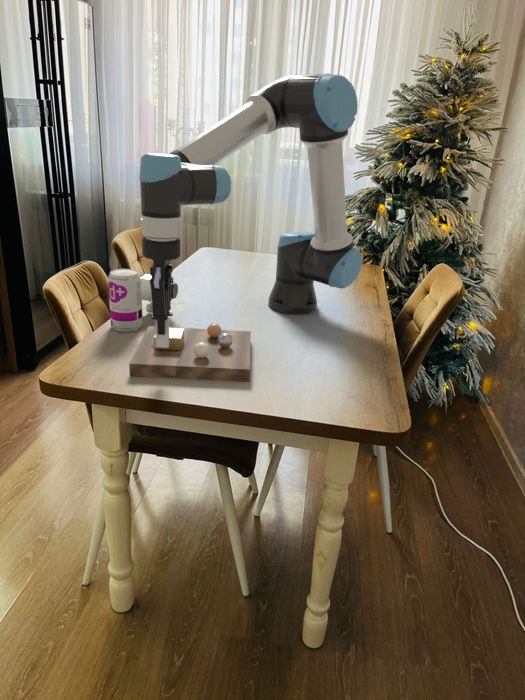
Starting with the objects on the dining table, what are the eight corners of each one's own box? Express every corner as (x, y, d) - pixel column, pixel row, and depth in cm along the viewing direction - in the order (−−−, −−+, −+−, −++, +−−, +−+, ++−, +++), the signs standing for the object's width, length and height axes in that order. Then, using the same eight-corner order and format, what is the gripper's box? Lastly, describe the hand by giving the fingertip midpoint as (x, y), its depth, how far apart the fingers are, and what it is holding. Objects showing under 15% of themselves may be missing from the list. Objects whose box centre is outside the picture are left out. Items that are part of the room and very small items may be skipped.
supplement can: (126, 335, 130) (123, 278, 124) (104, 327, 134) (100, 272, 128) (149, 326, 137) (147, 272, 131) (127, 319, 141) (124, 266, 134)
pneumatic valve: (172, 319, 142) (172, 278, 137) (133, 314, 144) (131, 273, 139) (179, 313, 147) (179, 273, 142) (141, 308, 149) (140, 268, 144)
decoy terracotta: (221, 334, 127) (222, 321, 125) (220, 340, 124) (221, 326, 122) (207, 334, 127) (207, 320, 125) (206, 339, 123) (206, 326, 122)
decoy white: (209, 354, 116) (210, 340, 114) (208, 360, 113) (208, 346, 111) (194, 353, 116) (194, 339, 114) (192, 360, 112) (192, 345, 111)
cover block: (184, 340, 122) (184, 328, 121) (180, 350, 117) (180, 338, 115) (159, 338, 122) (158, 327, 121) (154, 348, 116) (154, 336, 115)
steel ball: (232, 344, 121) (233, 331, 120) (232, 350, 118) (232, 337, 117) (218, 344, 121) (218, 330, 120) (217, 350, 118) (217, 336, 117)
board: (250, 342, 131) (250, 331, 130) (249, 381, 111) (249, 369, 110) (149, 336, 130) (148, 326, 129) (129, 376, 110) (129, 363, 109)
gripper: (148, 229, 106) (150, 333, 116) (135, 242, 94) (138, 357, 104) (184, 232, 107) (183, 335, 116) (175, 245, 95) (175, 359, 104)
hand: (162, 346), depth 110 cm, fingers closed
